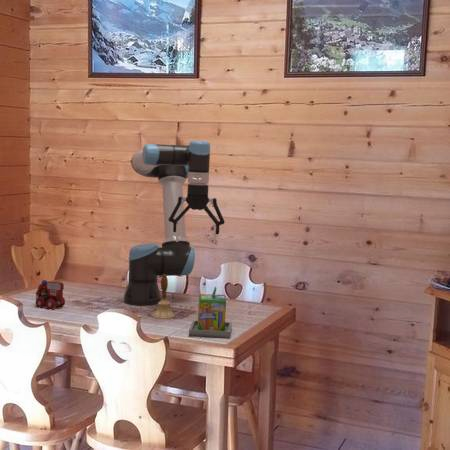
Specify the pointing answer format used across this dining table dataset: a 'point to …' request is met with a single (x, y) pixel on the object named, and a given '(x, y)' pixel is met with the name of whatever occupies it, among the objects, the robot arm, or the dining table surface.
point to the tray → (209, 331)
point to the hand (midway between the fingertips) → (195, 242)
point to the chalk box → (211, 312)
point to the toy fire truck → (50, 295)
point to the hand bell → (163, 303)
